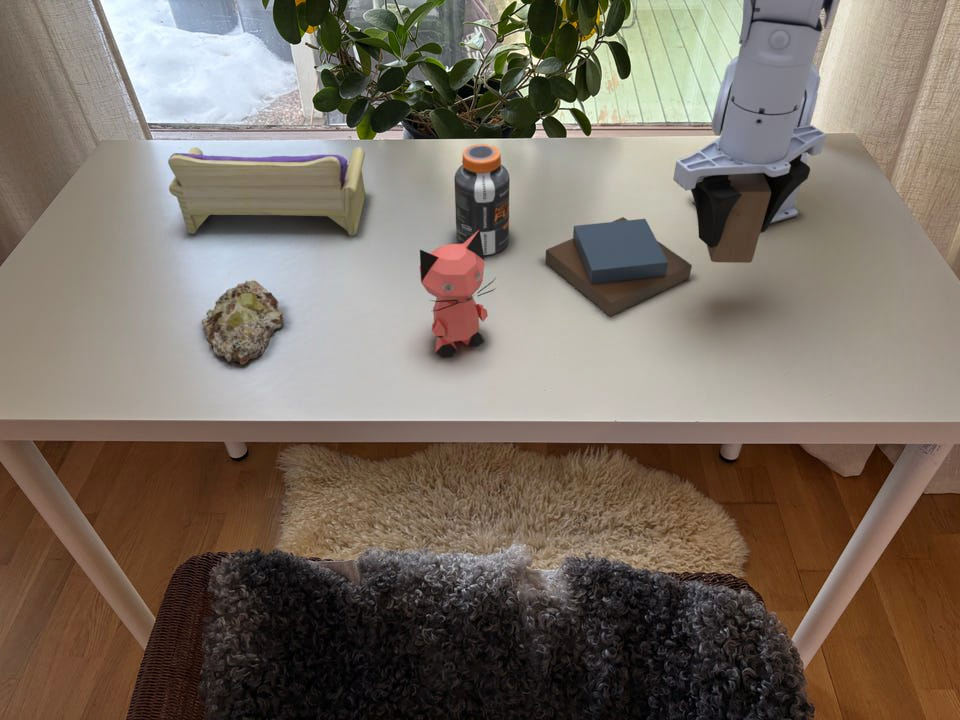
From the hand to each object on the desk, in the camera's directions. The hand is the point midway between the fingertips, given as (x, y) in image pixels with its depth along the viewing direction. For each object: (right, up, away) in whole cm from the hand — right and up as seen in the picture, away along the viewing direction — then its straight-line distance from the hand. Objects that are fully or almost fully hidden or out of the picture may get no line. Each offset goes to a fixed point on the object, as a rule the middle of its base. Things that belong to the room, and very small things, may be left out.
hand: (731, 234), depth 74 cm
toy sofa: (-48, +5, +19) cm, 52 cm away
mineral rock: (-48, -9, +4) cm, 49 cm away
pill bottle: (-24, +1, +15) cm, 28 cm away
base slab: (-9, -2, +10) cm, 14 cm away
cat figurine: (-26, -10, +3) cm, 28 cm away
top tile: (-9, -1, +9) cm, 13 cm away
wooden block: (0, -2, +2) cm, 2 cm away
